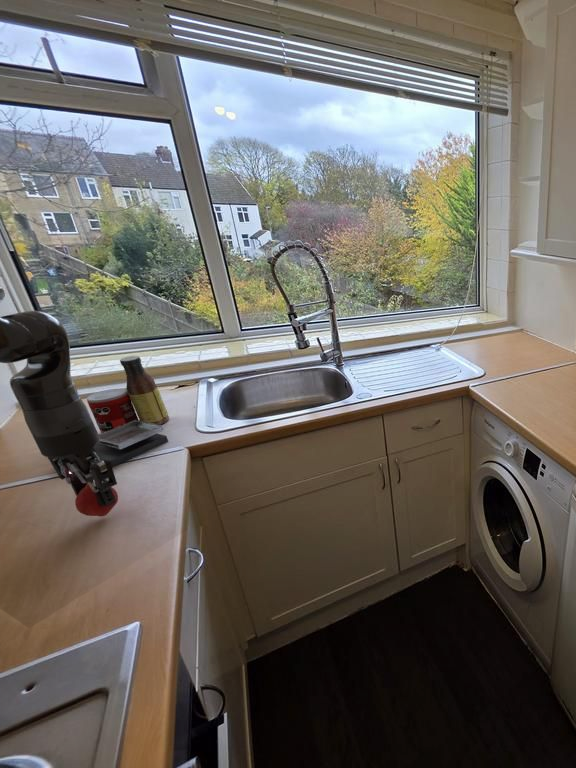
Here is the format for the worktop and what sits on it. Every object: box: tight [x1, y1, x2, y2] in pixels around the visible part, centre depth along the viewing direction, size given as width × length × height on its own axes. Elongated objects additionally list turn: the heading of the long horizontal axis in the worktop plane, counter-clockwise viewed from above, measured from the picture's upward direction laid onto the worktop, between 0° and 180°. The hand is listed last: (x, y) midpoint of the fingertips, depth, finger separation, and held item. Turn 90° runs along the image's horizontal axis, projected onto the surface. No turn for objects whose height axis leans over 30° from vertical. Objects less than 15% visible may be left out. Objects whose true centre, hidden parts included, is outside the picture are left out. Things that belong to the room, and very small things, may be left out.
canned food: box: [86, 388, 139, 434], centre depth 109 cm, size 8×8×11 cm
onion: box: [74, 484, 119, 517], centre depth 79 cm, size 6×6×8 cm
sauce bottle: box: [119, 355, 170, 425], centre depth 112 cm, size 7×6×20 cm
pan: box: [97, 419, 165, 450], centre depth 102 cm, size 10×10×1 cm
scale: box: [89, 433, 169, 476], centre depth 100 cm, size 16×12×4 cm
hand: (97, 500), depth 79 cm, fingers closed on onion, 6 cm apart
